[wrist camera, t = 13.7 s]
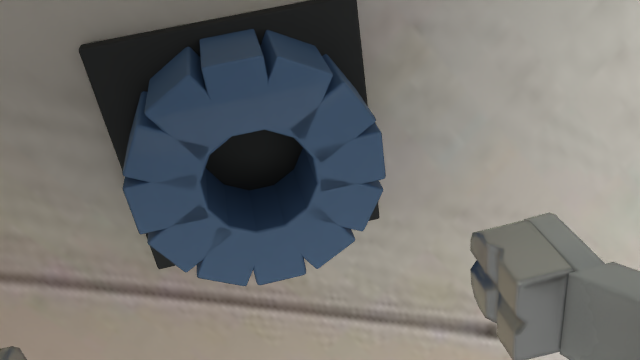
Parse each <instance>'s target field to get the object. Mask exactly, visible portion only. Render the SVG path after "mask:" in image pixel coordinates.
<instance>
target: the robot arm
mask: <svg viewBox="0 0 640 360" xmlns="http://www.w3.org/2000/svg"><path fill="white" fill-rule="evenodd" d="M470 251H471V252H472V253H473V255H474V256H475V258H476V259H477V261H476V262H475V264H474V265H473V267H472V268H471V285H472V289H473V293H474V297H475V299H476V302H477V304H478V306H479V308H480V310H481V311H482V313H483V315H484V316H485V318H487V319H489V320H491V321H493V322H495V323H497V337H498V338H499V340H500V341H501V343H502V344H503V346H504V347H505V349H506V350H507V352H508V353H509V355H510V357H511V358H512V360H527V359H531V358H535V357H539V356H544V355H548V354H552V353H556V352H560V354H561V355H563V356H564V357H566V358H568V359H569V360H640V271H638V270H635V269H632V268H629V267H626V266H623V265H620V264H618V263H615V262H611V263H607V264H605V263H604V262H603V261H602V260H601V259H600V258H599V257H598V256H597V255H596V254H595V253H594V252H593V251H592V250H591V249H590V248H589V247H588V246H587V245H586V244H585V243H584V242H583V241H582V240H581V239H580V238H579V237H578V236H577V235H576V234H574V233H573V232H572V231H571V230H570V229H569V228H568V227H567V226H566V225H565V224H564V223H563V222H562V221H561V220H560V219H559V218H558V217H557V216H556V215H555V214H552V213H550V212H549V213H545V214H542V215H538V216H534V217H530V218H527V219H524V220H522V221H518V222H514V223H510V224H506V225H502V226H498V227H494V228H490V229H486V230H482V231H478V232H474V233H473V234H472V237H471V250H470ZM0 360H27V359H26V357H25V356H24V354H23V353H22V351H21V350H20V348H18V347H13V346H11V347H7V348H2V349H0Z"/></svg>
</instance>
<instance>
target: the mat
mask: <svg viewBox="0 0 640 360" xmlns="http://www.w3.org/2000/svg"><path fill="white" fill-rule="evenodd" d="M249 29H254V30H255V33H256V36H257V39H258V42H259V45H260V46H261V43H262V40H263V37H264V34H265V31H266V30H270V31H273V32H276V33H279V34H282V35H285V36H288V37H291V38H294V39H296V40H299V41H302V42H305V43H308V44H311V45H314V46H316V48H317V49H318V51H319V52H320V54H321V56H323V55H325V54H327V55H328V56H329V57H330V58H331V59H332V61H333V62H334V63H335V64H336V66H337V67H338V68H339V69H340V70H341V72H342V73H343V74H344V75H345V76H346V78H347V79H348V80H349V81H350V82H351V84H352V85H353V86H354V87H355V89H356V90H357V92H358V93H359V95H360V96H361V98H362V99H363V100H364V102H365V103H366V105H367V95H366V86H365V77H364V67H363V58H362V48H361V39H360V30H359V20H358V11H357V1H356V0H311V1H306V2H301V3H296V4H291V5H285V6H280V7H275V8H270V9H265V10H260V11H254V12H249V13H244V14H239V15H234V16H229V17H223V18H218V19H213V20H208V21H203V22H198V23H192V24H187V25H182V26H177V27H172V28H166V29H161V30H156V31H151V32H146V33H141V34H135V35H130V36H125V37H120V38H115V39H110V40H104V41H99V42H94V43H89V44H84V45H81V46H80V48H79V53H80V55H81V58H82V61H83V64H84V66H85V69H86V72H87V74H88V77H89V80H90V83H91V85H92V88H93V91H94V94H95V96H96V99H97V102H98V105H99V107H100V110H101V113H102V116H103V118H104V121H105V124H106V127H107V129H108V132H109V135H110V138H111V140H112V143H113V146H114V149H115V151H116V154H117V157H118V160H119V162H120V165H121V168H122V171H123V167H124V162H125V157H126V151H127V146H128V141H129V136H130V132H131V128H132V125H133V121H134V117H135V114H136V110H137V106H138V102H139V99H140V95H141V93H142V92H143V91H145V92H148V86H149V80H150V79H151V78H152V77H153V76H154V75H155V74H156V73H157V72H158V71H160V70H161V69H162V68H163V67H164V66H165V65H166V64H167V63H169V62H170V61H171V60H172V59H173V58H174V57H175V56H176V55H178V54H179V53H180V52H181V51H182V50H183V49H184V48H185V47H190V48H191V49H192V50H193V51H194V52H195V53H196V54H197V55H198V56H199V57H200V39H203V38H208V37H213V36H218V35H223V34H228V33H233V32H239V31H244V30H249ZM200 58H201V57H200ZM367 106H368V105H367ZM302 149H303V147H302V146H301V145H300V144H299V143H298V141H297V140H296V139H295V138H293V137H290V136H286V135H282V134H279V133H275V132H272V131H268V130H260V131H255V132H251V133H246V134H241V135H237V136H232V137H231V138H229V139H228V140H227V141H226V142H225V143H223V144H222V145H221V146H220V147H219V148H217V149H216V150H215V151H214V152H213V153H211V154H210V155H209V158H208V161H207V164H206V169H207V170H208V171H209V172H210V173H212V174H213V175H214V176H215V177H216V178H217V179H218V180H219V181H220V182H222V183H223V184H224V185H228V186H232V187H236V188H241V189H245V190H249V191H250V190H254V189H259V188H263V187H268V186H272V185H275V184H276V183H277V182H279V181H280V180H281V179H282V178H284V177H285V176H286V175H287V174H289V173H290V172H291V171H292V170H294V168H295V166H296V163H297V161H298V158H299V156H300V154H301V151H302ZM378 218H379V208H378V202H377V204H376V206H375V208H374V210H373V212H372V214H371V217H370V219H369V221H370V220H374V219H378ZM145 234H146V236H147V239H148V233H145ZM150 247H151V246H150ZM151 250H152V253H153V256H154V258H155V261H156V264H157V267H158V269H162V268H167V267H171V266H175V264H174V263H172V262H171V261H170V260H168V259H167V258H166V257H164V256H163V255H162V254H160V253H159V252H158V251H156V250H155V249H154V248H152V247H151Z"/></svg>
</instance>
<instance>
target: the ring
mask: <svg viewBox="0 0 640 360" xmlns="http://www.w3.org/2000/svg"><path fill="white" fill-rule="evenodd" d="M200 57H201V58H200ZM200 57H199V56H198V55H197V54H196V53H195V52H194V51H193V50H192V49H191V48H190V47H185V48H184V49H183V50H182V51H181V52H180V53H179V54H178V55H176V56H175V57H174V58H173V59H172V60H171V61H170V62H169V63H167V64H166V65H165V66H164V67H163V68H162V69H161V70H160V71H158V72H157V73H156V74H155V75H154V76H153V77H152V78H151V79H150V80H149V86H148V92H145V91H143V92H142V93H141V95H140V99H139V102H138V106H137V110H136V114H135V117H134V121H133V125H132V128H131V132H130V136H129V141H128V146H127V151H126V157H125V162H124V167H123V172H122V173H123V176H125V179H124V184H123V191H124V194H125V197H126V199H127V202H128V205H129V207H130V210H131V213H132V215H133V218H134V221H135V223H136V226H137V229H138V231H139V233H140V234H145V233H148V242H147V243H148V244H149V245H150V246H151V247H152V248H154V249H155V250H156V251H158V252H159V253H160V254H162V255H163V256H164V257H166V258H167V259H168V260H170V261H171V262H172V263H174V264H175V265H176V266H178V267H179V268H180V269H182V270H183V271H184V272H188V271H189V270H190V269H192V268H193V267H194V266H195V265H197V277H198V278H202V279H207V280H213V281H218V282H224V283H229V284H235V285H240V286H246V285H247V283H248V281H249V278H250V276H251V273H252V271H254V274H255V278H256V282H257V284H258V285H264V284H268V283H272V282H276V281H280V280H285V279H289V278H293V277H297V276H301V275H305V274H306V267H305V262H304V258H305V259H306V260H307V261H308V262H309V263H310V264H311V265H313V266H314V267H315V268H316V269H318V268H320V267H321V266H322V265H324V264H325V263H326V262H328V261H329V260H330V259H332V258H333V257H334V256H336V255H337V254H338V253H340V252H341V251H342V250H344V249H345V248H346V247H348V246H349V245H350V244H351V243H353V242H354V241H355V237H354V235H353V233H352V230H351V229H354V230H358V231H363V230H364V229H365V227H366V225H367V223H368V221H369V219H370V217H371V214H372V212H373V210H374V208H375V206H376V204H377V202H378V200H379V198H380V196H381V194H382V192H383V188H382V186H381V184H380V182H379V181H378V180H381V179H384V178H385V176H386V174H385V164H384V153H383V143H382V133H381V131H380V130H379V128H378V127H377V125H376V124H375V121H376V119H375V117H374V115H373V114H372V112H371V111H370V109H369V108H368V106H367V105H366V103H365V102H364V100H363V99H362V98H361V96H360V95H359V93H358V92H357V90H356V89H355V87H354V86H353V85H352V84H351V82H350V81H349V80H348V79H347V78H346V76H345V75H344V74H343V73H342V72H341V70H340V69H339V68H338V67H337V66H336V64H335V63H334V62H333V61H332V59H331V58H330V57H329V56H328V55H327V54H325V55H323V56H321V54H320V52H319V51H318V49H317V48H316V46H314V45H311V44H308V43H305V42H302V41H299V40H296V39H294V38H291V37H288V36H285V35H282V34H279V33H276V32H273V31H270V30H266V31H265V34H264V37H263V40H262V43H261V46H260V45H259V42H258V39H257V36H256V33H255V30H254V29H249V30H244V31H239V32H233V33H228V34H223V35H218V36H213V37H208V38H203V39H200ZM260 130H268V131H272V132H275V133H279V134H282V135H286V136H290V137H293V138H295V139H296V140H297V141H298V143H299V144H300V145H301V146H302V147H303V149H302V151H301V154H300V156H299V158H298V161H297V163H296V166H295V168H294V170H292V171H291V172H290V173H289V174H287V175H286V176H285V177H284V178H282V179H281V180H280V181H279V182H277V183H276V184H275V185H272V186H268V187H263V188H259V189H254V190H250V191H249V190H245V189H241V188H236V187H232V186H228V185H224V184H223V183H222V182H220V181H219V180H218V179H217V178H216V177H215V176H214V175H213V174H212V173H210V172H209V171H208V170H207V169H206V164H207V161H208V158H209V155H210V154H211V153H213V152H214V151H215V150H216V149H217V148H219V147H220V146H221V145H222V144H223V143H225V142H226V141H227V140H228V139H229V138H231V137H232V136H237V135H241V134H246V133H251V132H255V131H260Z"/></svg>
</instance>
